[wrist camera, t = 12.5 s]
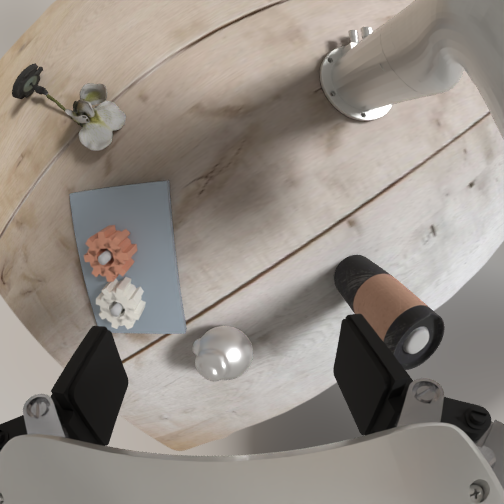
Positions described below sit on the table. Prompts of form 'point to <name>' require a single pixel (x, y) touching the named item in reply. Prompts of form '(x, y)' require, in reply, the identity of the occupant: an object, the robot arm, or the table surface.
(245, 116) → the table surface
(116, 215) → the gear board
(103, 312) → the cream gear
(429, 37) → the robot arm
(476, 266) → the table surface
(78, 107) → the artificial flower
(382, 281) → the travel mug
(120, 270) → the terracotta gear
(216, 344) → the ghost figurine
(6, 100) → the table surface
